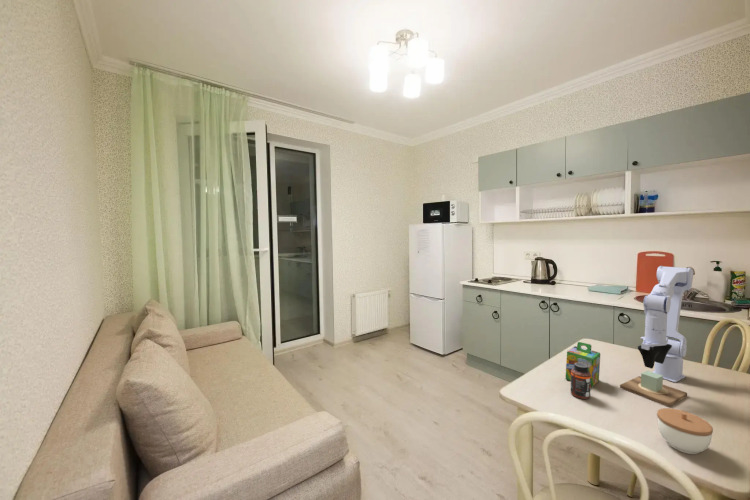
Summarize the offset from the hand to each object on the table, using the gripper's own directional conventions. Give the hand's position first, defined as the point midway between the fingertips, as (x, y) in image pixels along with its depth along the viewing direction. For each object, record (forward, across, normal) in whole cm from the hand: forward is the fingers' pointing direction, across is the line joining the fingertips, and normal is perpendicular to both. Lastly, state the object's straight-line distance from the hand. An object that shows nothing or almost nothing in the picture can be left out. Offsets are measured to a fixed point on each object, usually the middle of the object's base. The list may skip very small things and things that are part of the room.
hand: (653, 365), depth 111 cm
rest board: (+10, 0, 0) cm, 10 cm away
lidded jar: (+10, +27, +17) cm, 34 cm away
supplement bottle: (+10, +25, -11) cm, 29 cm away
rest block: (+9, 0, 0) cm, 9 cm away
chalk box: (+10, +13, -17) cm, 24 cm away
